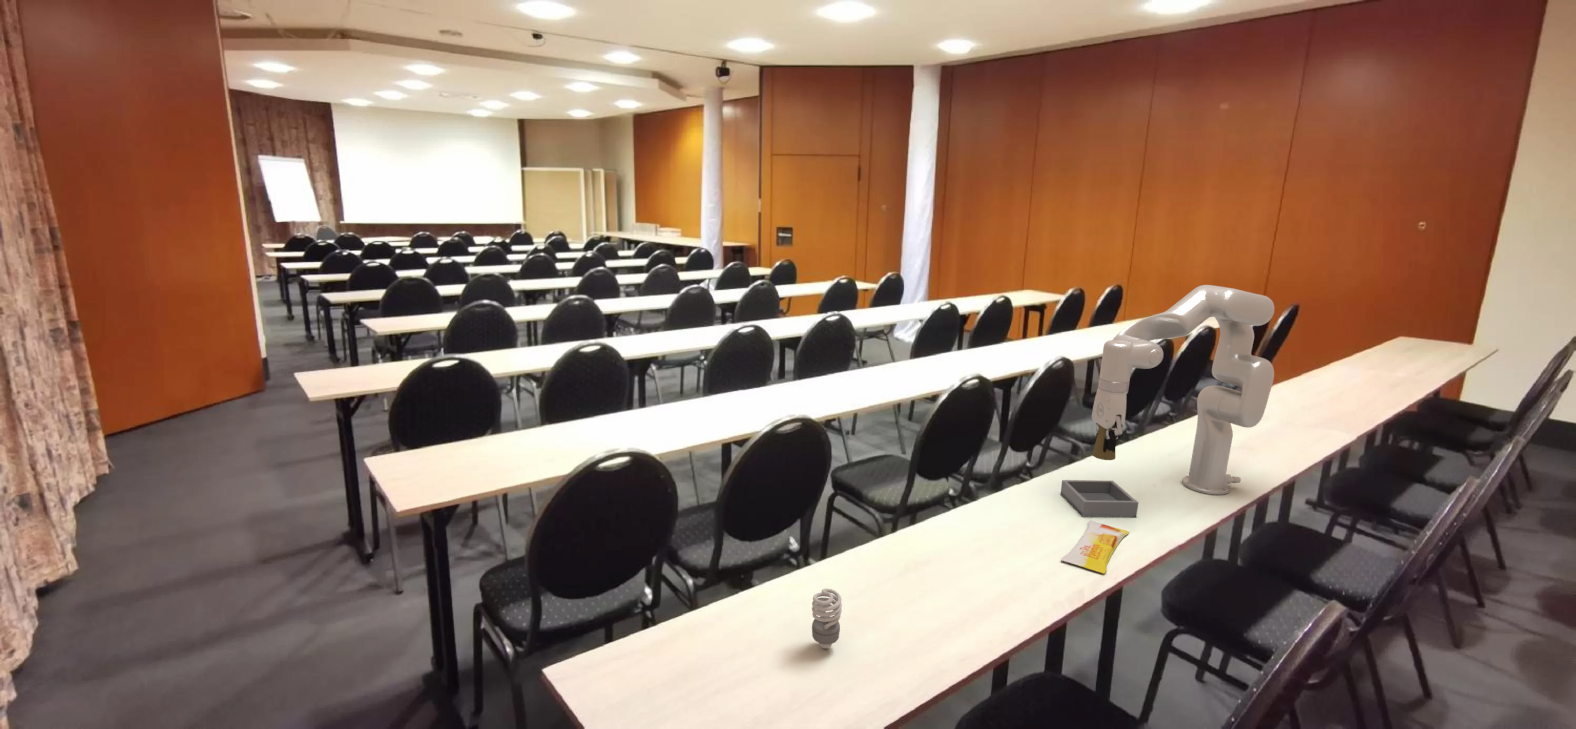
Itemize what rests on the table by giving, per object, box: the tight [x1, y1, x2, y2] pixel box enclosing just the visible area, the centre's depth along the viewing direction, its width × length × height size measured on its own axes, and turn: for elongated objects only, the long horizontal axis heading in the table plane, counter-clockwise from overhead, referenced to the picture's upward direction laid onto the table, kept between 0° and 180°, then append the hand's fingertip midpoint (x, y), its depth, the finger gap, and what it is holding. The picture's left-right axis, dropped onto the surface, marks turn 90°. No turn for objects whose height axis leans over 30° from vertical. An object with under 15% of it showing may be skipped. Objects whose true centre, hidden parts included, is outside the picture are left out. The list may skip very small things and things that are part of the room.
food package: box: [1060, 520, 1130, 574], centre depth 179 cm, size 27×2×10 cm
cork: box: [1091, 424, 1116, 461], centre depth 198 cm, size 6×6×11 cm
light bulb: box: [811, 588, 843, 649], centre depth 136 cm, size 6×6×12 cm
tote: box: [1060, 479, 1139, 519], centre depth 203 cm, size 15×15×4 cm
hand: (1104, 448), depth 199 cm, fingers closed on cork, 3 cm apart
